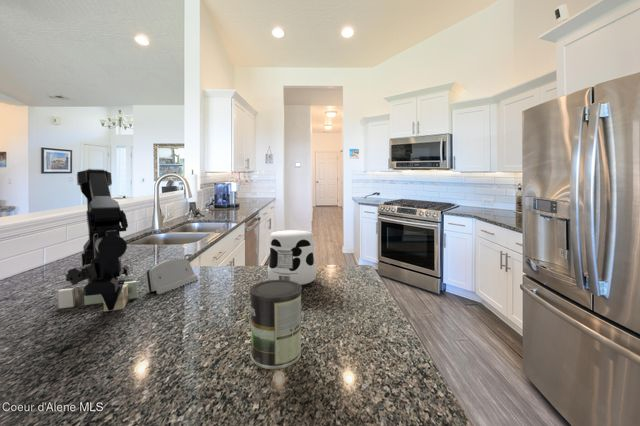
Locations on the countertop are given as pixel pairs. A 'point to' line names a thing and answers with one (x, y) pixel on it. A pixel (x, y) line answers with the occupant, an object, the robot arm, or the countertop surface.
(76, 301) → the gate post
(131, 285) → the door
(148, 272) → the grey curved upright block
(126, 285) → the block
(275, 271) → the milk container
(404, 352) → the countertop surface
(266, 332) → the coffee can
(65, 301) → the wall stub
